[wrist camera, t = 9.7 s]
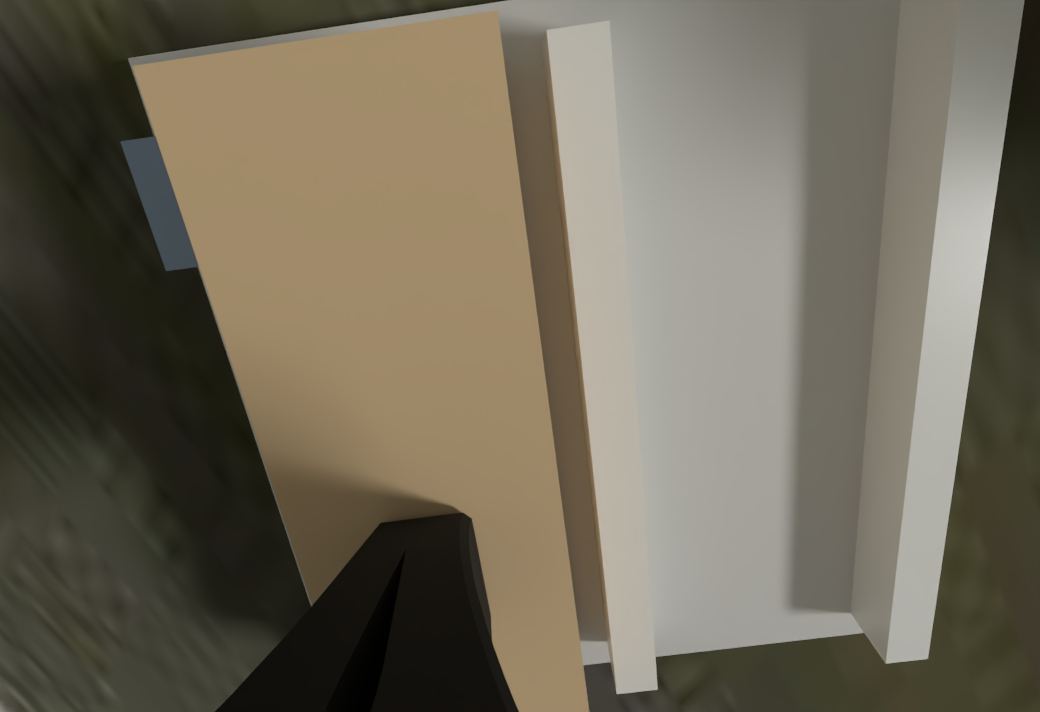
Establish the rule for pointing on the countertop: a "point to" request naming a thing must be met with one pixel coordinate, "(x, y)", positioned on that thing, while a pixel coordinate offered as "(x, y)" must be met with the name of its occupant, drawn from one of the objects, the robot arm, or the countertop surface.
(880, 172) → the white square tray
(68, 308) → the countertop surface
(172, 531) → the countertop surface
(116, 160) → the countertop surface
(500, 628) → the tan bar
